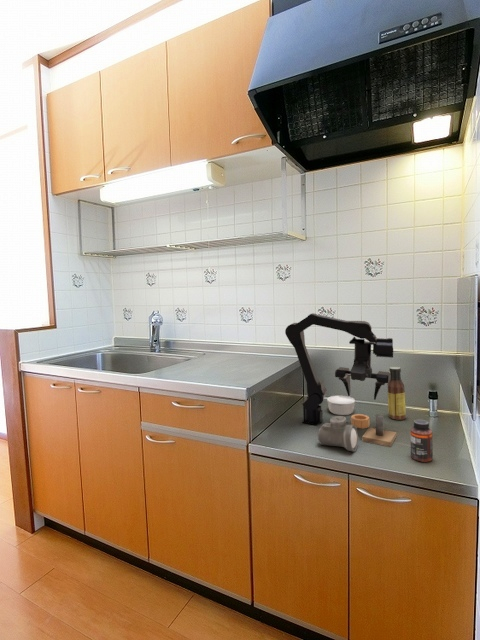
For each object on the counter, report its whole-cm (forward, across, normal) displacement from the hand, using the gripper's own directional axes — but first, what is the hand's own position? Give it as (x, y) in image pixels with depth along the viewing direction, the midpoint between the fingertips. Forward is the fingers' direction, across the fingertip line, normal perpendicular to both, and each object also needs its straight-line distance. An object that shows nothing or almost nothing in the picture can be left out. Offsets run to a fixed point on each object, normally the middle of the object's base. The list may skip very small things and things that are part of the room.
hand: (361, 397), depth 134 cm
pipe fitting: (+11, -3, -21) cm, 24 cm away
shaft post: (+11, +8, -9) cm, 16 cm away
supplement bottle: (+11, +21, -18) cm, 30 cm away
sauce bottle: (+11, +10, +14) cm, 21 cm away
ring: (+11, -1, +1) cm, 11 cm away
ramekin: (+12, -11, +12) cm, 20 cm away
